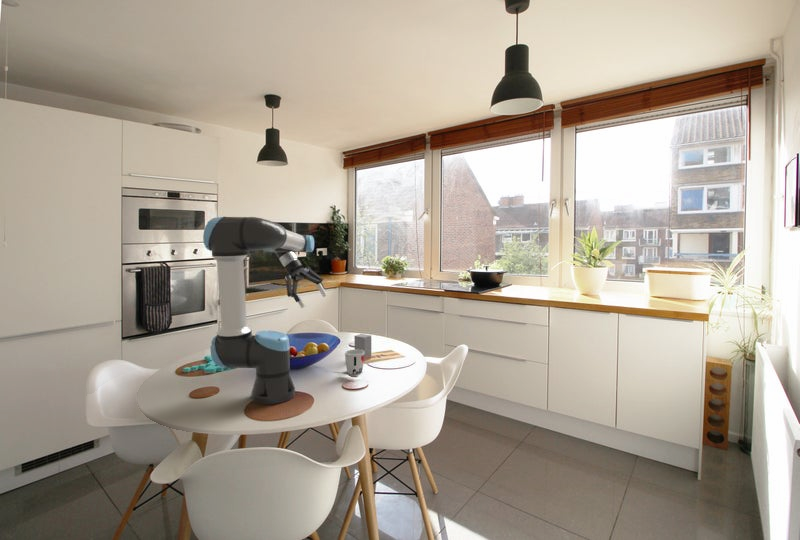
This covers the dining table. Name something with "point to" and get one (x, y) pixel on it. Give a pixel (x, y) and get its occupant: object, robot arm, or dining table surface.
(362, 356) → the cup
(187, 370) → the alien figure
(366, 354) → the block
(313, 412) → the dining table surface
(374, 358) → the oak board
